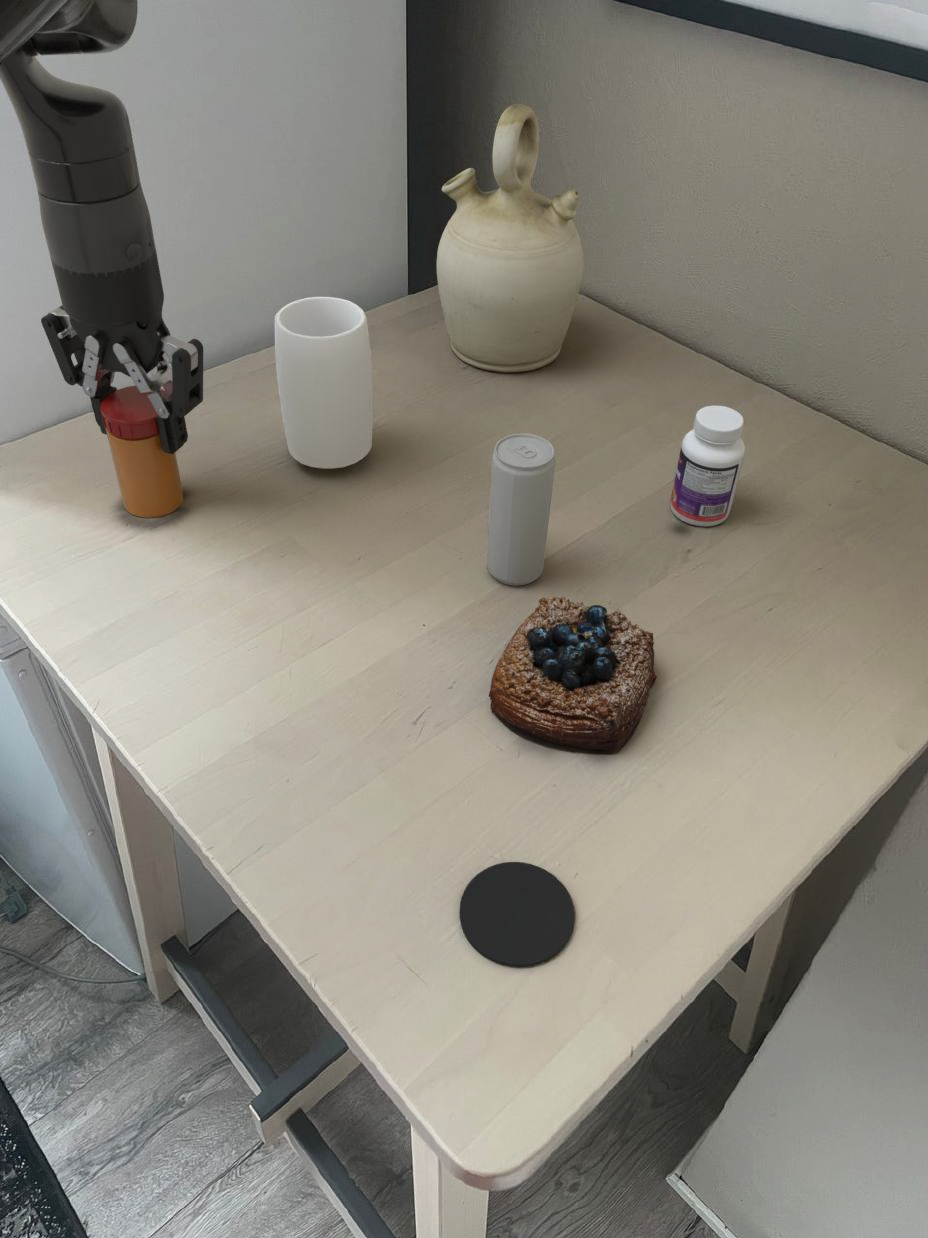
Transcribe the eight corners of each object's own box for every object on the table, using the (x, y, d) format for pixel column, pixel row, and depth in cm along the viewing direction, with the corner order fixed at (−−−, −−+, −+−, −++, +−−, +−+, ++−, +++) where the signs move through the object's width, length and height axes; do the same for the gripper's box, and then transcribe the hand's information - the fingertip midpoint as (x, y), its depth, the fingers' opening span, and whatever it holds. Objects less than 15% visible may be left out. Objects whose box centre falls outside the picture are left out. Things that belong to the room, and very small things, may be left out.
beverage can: (517, 544, 89) (526, 425, 80) (555, 573, 86) (569, 453, 78) (474, 566, 86) (479, 446, 78) (512, 597, 84) (522, 475, 75)
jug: (406, 348, 113) (404, 105, 96) (495, 301, 122) (507, 70, 105) (516, 398, 106) (534, 146, 89) (601, 344, 115) (633, 105, 98)
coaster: (550, 986, 59) (551, 983, 59) (440, 940, 61) (440, 937, 61) (589, 889, 64) (590, 886, 64) (486, 849, 66) (486, 846, 66)
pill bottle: (682, 485, 96) (702, 393, 89) (737, 504, 94) (761, 412, 87) (659, 515, 92) (678, 422, 86) (716, 535, 90) (739, 442, 84)
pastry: (666, 661, 79) (679, 604, 75) (620, 774, 71) (632, 717, 67) (532, 619, 82) (538, 562, 78) (473, 723, 74) (476, 666, 70)
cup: (381, 434, 100) (377, 297, 91) (367, 485, 94) (361, 344, 85) (296, 427, 101) (282, 291, 91) (276, 477, 95) (259, 336, 85)
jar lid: (136, 394, 89) (132, 377, 88) (189, 413, 87) (186, 397, 86) (88, 425, 85) (84, 409, 84) (143, 446, 83) (139, 429, 82)
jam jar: (175, 519, 90) (157, 428, 83) (116, 516, 90) (93, 424, 83) (189, 484, 94) (173, 394, 87) (132, 481, 94) (112, 390, 87)
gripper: (214, 246, 76) (240, 438, 88) (57, 209, 80) (102, 397, 92) (153, 287, 71) (189, 485, 83) (-12, 245, 75) (45, 440, 87)
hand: (143, 438), depth 87 cm, fingers closed on jar lid, 5 cm apart
